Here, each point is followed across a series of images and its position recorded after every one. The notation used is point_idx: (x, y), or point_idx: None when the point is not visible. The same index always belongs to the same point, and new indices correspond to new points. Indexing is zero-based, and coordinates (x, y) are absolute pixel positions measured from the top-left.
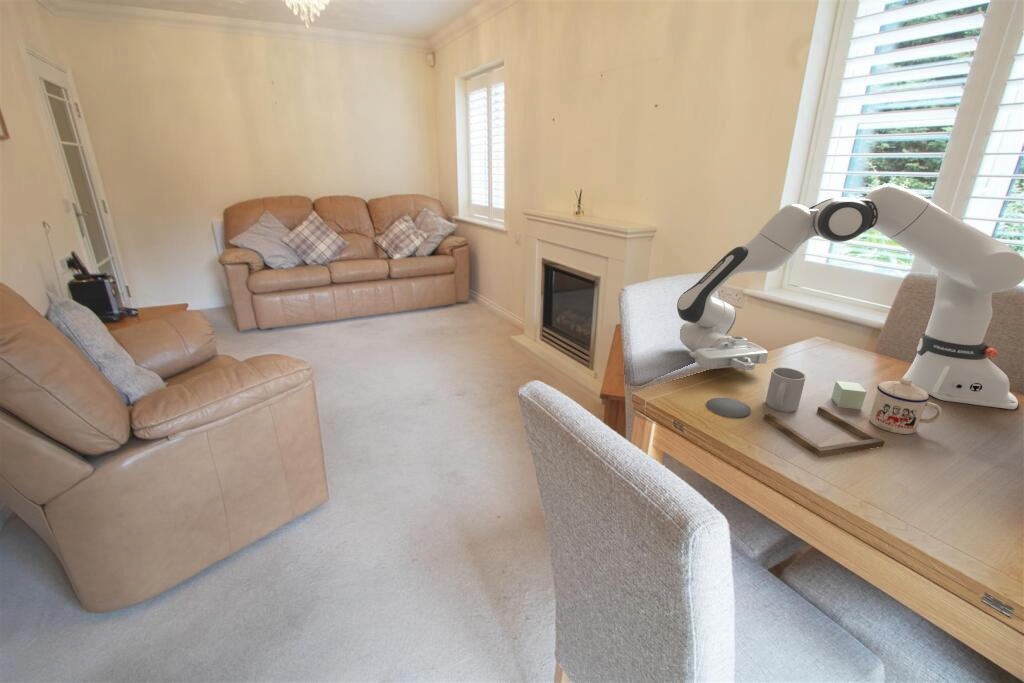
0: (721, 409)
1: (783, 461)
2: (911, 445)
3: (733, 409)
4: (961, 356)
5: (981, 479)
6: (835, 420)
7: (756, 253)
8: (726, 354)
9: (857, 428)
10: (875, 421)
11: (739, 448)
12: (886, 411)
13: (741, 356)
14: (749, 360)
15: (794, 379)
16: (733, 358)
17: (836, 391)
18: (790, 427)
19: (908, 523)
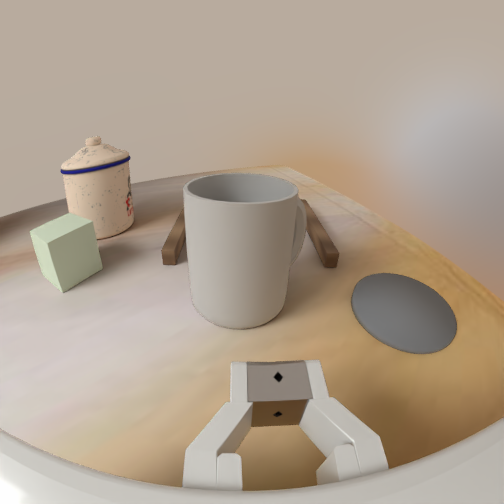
0: (425, 299)
1: (356, 213)
2: (148, 205)
3: (397, 294)
4: None
5: (161, 184)
6: (184, 236)
7: None
8: (439, 491)
9: None
10: (129, 220)
11: (405, 232)
12: (130, 189)
13: (262, 491)
14: (226, 418)
15: (259, 174)
16: (367, 472)
17: (70, 256)
18: (312, 224)
19: (290, 178)
